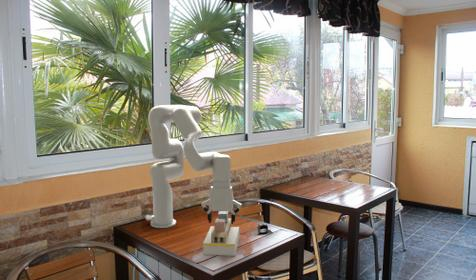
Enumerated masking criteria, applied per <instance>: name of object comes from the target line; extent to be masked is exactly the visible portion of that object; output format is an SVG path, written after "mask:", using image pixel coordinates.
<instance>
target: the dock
mask: <svg viewBox="0 0 476 280" xmlns="http://www.w3.org/2000/svg"><path fill="white" fill-rule="evenodd" d="M213 228H214V225H213V226H212V225H211V226H210V228H209V230H208V232H207V234H206V237H204V238H205V239H204V240H203V242H202V246H203V247H202V250H203V251H202V252H203V255H204V256H205V255H207V256H229V257H231V256H234V257H235V256H236V254H237V249H238V245H239V241H240V226H231V228H230V232H229V235H228V238H227V242H226V243H223V237H222V239H221V242H220V243H217V237H216V240H215V242H214V243H211V233H212V230H213Z"/></svg>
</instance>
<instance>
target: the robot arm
mask: <svg viewBox="0 0 476 280" xmlns="http://www.w3.org/2000/svg"><path fill="white" fill-rule="evenodd" d="M202 119H203V117H202V112H201V110H200V109H199V108H198V107H197V106H192V105H185V104H164V105H163V104H161V105H155V106H154V107H152V108H151V109H150V110H149V113H148V124H149V127H150V133H151V134H150V135H151V152H152V157H153V158H154V159H155V160H165V161H159V162H156V163H153V164H152V165H151V167H150V169H149V176H150V179H151V186H152V187H151V188H152V205H153V208H152V210H153V214H152V215H145V220H146V221H147V222H148V221H150V226H151V227H152V228H155V229H168V228H171V227H172V228H173V227H174V226H176V224H177V220H176V219H174V214H173V213H174V209H173V206H174V205H173V204H174V203H173V188H172V186H171V184H170V183H169V181H172V180H176V179H179V178H181V177H183V175H184V173H185V172H184V171H185V159H186V161H187V162H188V164H189V166H190V167H191V169H193V170H194V171H196V172H204V171H208V170H212V179H211V180H209V181H208V184H209V185H212V186H210V188H209V198H208V199H207V200H205V201H202V202H201V207H202V209H203V210H204V212H206V214H207V221H208V224H211V223H212V220H213V219H212V218H213V217H212V216H213V215H212V214H213V213H212V211H213V212H214V211H215V212H219V211H228V212H230V213H231V216H230V218H231V225H233V224H234V222H235V221H236V214H238V212H239V211H240V209H241V208H242V205H243V204H242V203H241V202H238V201H236V200H235V199H234V192H233V186H231V157H230V156H229V155H228V154H221V153H219V152H217V151H208V152H201V153H199V152H198V150H197V149H196V146H195V142H196V141H198V140H199V139H200V137H202V134H203V131H202V129H201V127H200V126H199V123H201V121H202ZM168 123H171V124H172V123H174V125H176V128H177V129H178V131H179V133H180V134H181V136H182V137H183V139H184V144H182V141H180V139H177V138H170V130H169V128H168V127H167V125H166V124H168ZM184 158H185V159H184ZM167 159H169V160H167ZM207 205H208V207H207ZM234 205H235V206H236V208H235V209H234Z"/></svg>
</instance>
